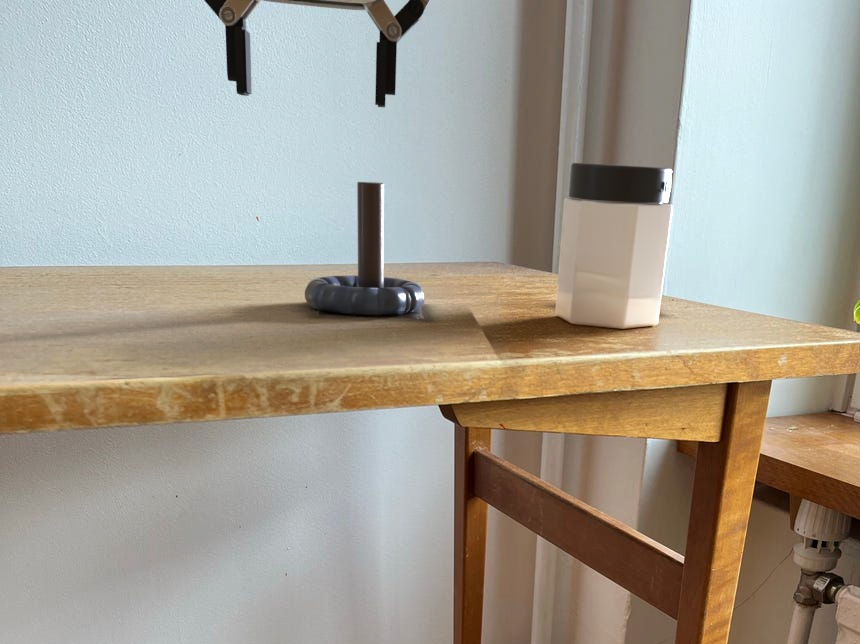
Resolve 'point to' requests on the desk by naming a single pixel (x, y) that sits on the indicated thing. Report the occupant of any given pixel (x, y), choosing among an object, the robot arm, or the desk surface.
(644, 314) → the jar
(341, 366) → the desk surface
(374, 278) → the post
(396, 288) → the ring
